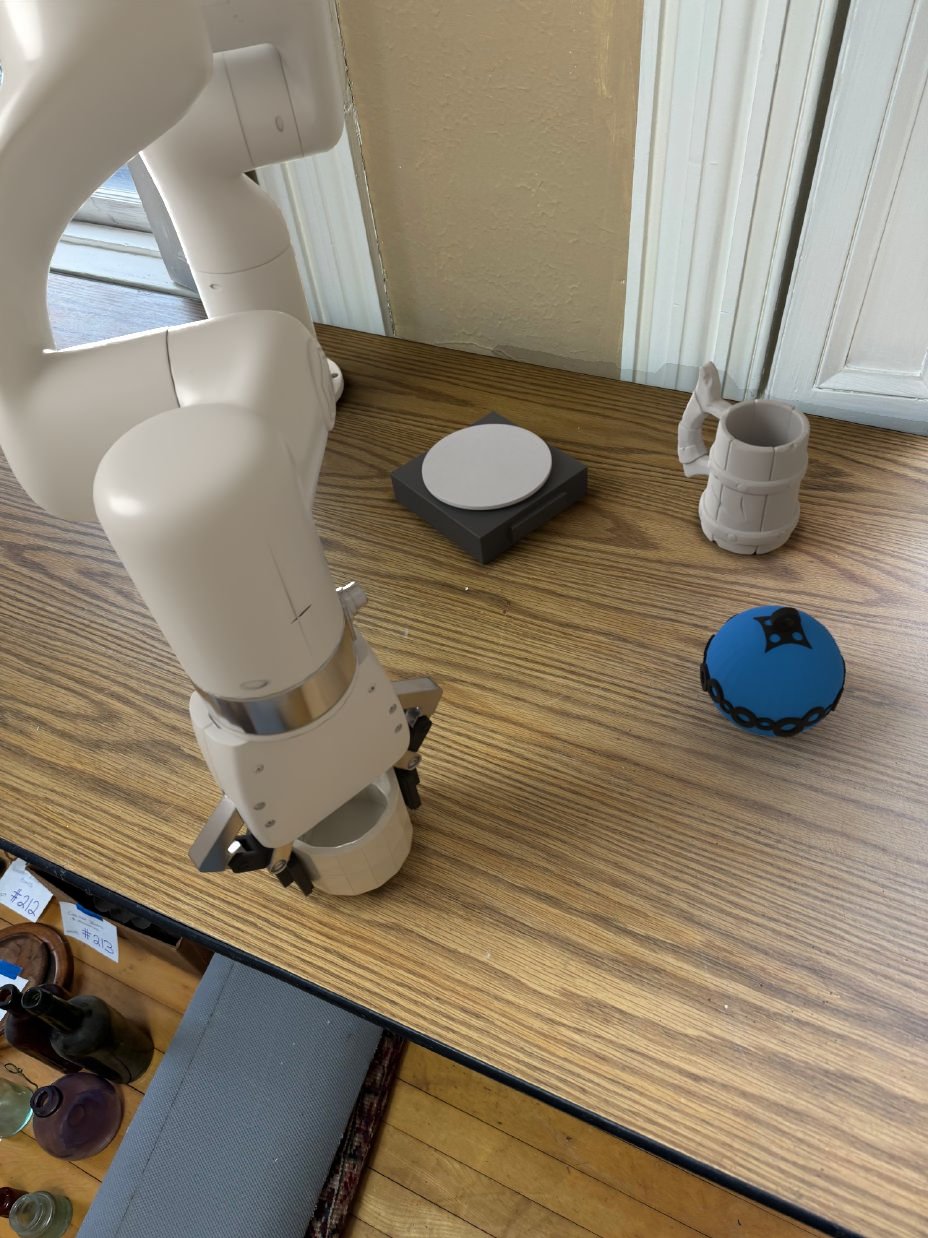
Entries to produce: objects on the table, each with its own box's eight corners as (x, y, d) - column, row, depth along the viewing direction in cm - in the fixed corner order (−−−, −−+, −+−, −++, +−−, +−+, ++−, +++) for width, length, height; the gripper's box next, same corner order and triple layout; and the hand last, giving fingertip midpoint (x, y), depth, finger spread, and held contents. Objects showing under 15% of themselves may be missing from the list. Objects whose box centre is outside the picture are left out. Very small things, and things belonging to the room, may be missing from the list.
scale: (395, 499, 76) (388, 466, 73) (495, 437, 80) (492, 403, 78) (487, 568, 69) (483, 534, 66) (592, 496, 73) (592, 461, 71)
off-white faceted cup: (276, 841, 55) (248, 793, 50) (368, 771, 58) (350, 720, 53) (341, 925, 51) (317, 881, 46) (437, 845, 53) (423, 797, 49)
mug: (747, 572, 66) (772, 446, 57) (643, 496, 73) (650, 373, 64) (817, 528, 68) (851, 400, 59) (709, 458, 75) (725, 334, 66)
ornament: (808, 654, 60) (839, 552, 52) (847, 759, 54) (888, 661, 47) (684, 665, 61) (697, 565, 53) (710, 770, 55) (729, 674, 47)
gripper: (375, 527, 45) (423, 717, 58) (71, 718, 39) (202, 883, 52) (466, 600, 41) (496, 787, 54) (142, 827, 35) (264, 977, 48)
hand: (351, 833), depth 53 cm, fingers closed on off-white faceted cup, 7 cm apart
